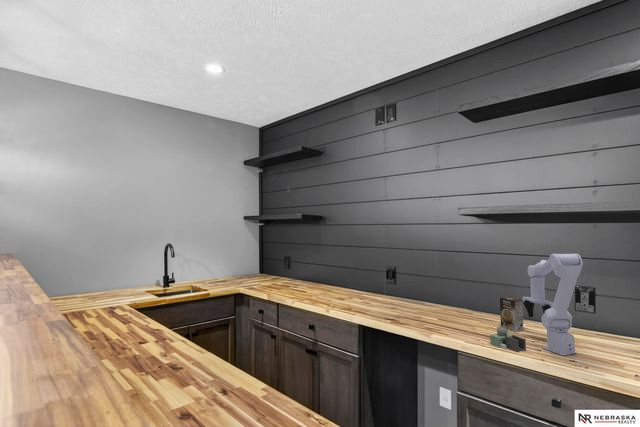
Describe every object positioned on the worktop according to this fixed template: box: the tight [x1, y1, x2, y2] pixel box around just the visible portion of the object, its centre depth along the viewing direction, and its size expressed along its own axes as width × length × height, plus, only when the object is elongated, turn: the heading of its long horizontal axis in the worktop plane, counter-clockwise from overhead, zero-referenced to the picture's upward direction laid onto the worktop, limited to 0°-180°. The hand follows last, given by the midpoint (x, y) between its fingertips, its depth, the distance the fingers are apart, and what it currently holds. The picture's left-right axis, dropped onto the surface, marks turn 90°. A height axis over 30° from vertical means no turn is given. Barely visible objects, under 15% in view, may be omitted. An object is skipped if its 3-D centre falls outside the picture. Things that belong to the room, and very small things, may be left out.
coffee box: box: [499, 296, 525, 333], centre depth 180 cm, size 9×6×16 cm
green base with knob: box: [489, 326, 514, 350], centre depth 156 cm, size 8×10×7 cm
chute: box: [505, 334, 527, 353], centre depth 151 cm, size 6×5×5 cm
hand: (538, 318), depth 164 cm, fingers open, 7 cm apart
